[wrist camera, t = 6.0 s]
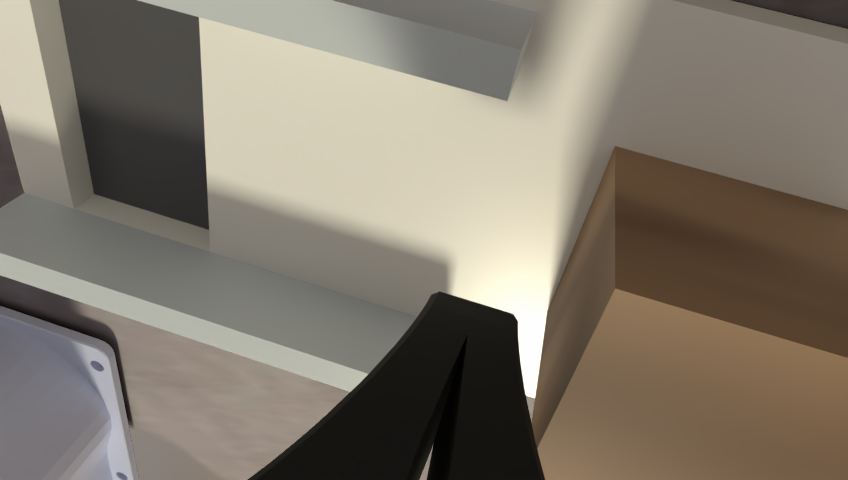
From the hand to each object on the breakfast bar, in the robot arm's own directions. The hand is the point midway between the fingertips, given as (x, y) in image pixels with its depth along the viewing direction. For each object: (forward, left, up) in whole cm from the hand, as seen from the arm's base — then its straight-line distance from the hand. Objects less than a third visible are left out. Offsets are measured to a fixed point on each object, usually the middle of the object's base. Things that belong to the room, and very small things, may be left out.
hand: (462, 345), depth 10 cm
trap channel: (0, +3, -5) cm, 6 cm away
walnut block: (0, -4, -4) cm, 6 cm away
